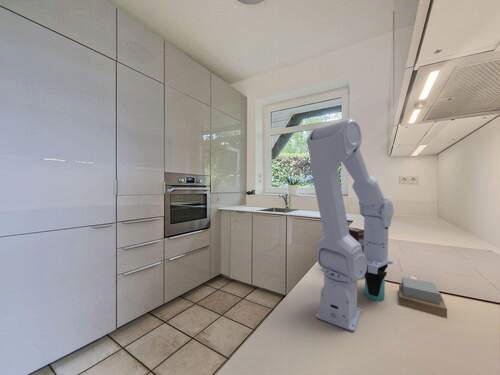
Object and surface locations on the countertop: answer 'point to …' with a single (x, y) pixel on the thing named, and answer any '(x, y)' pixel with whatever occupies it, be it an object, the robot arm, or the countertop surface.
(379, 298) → the cylinder
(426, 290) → the tower top
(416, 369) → the countertop surface
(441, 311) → the tower base
